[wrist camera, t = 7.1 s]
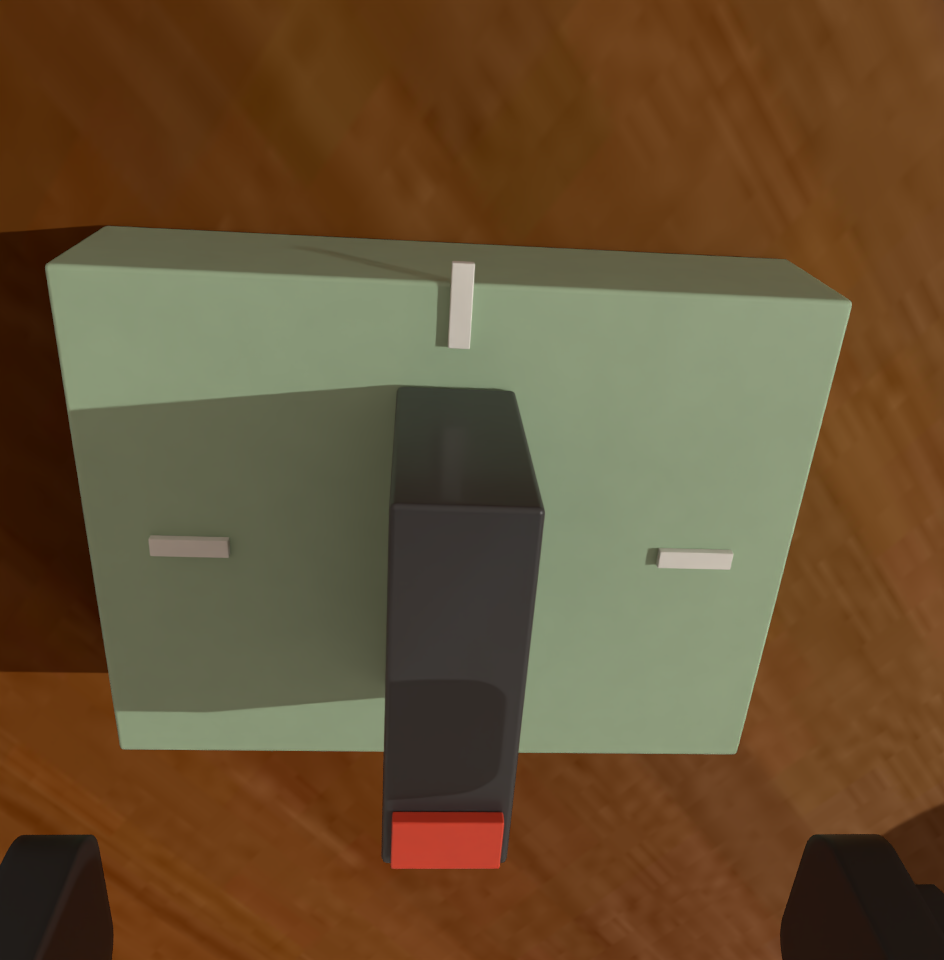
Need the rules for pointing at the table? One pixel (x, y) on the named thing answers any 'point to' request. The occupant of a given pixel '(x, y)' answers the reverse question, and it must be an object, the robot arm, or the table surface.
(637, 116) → the table surface
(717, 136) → the table surface
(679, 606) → the panel
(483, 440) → the dark gray bar
